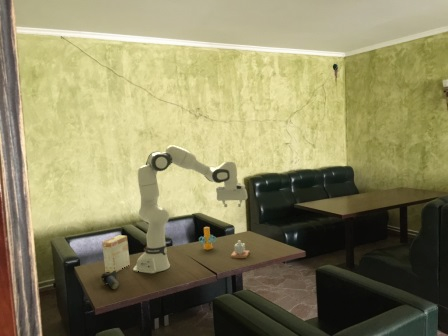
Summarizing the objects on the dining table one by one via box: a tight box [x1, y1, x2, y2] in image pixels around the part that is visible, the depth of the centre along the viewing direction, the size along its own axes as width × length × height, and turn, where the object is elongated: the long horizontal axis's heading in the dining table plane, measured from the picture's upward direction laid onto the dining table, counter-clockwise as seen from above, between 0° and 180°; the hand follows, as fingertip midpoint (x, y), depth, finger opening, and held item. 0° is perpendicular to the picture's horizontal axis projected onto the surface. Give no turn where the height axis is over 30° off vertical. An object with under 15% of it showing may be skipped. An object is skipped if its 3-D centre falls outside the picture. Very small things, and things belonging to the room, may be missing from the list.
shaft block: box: [230, 240, 250, 259], centre depth 239 cm, size 10×10×10 cm
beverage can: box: [100, 271, 120, 290], centre depth 205 cm, size 9×8×12 cm
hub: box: [233, 242, 246, 253], centre depth 239 cm, size 6×6×5 cm
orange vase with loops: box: [198, 226, 217, 251], centre depth 258 cm, size 12×10×15 cm
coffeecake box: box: [101, 234, 131, 273], centre depth 230 cm, size 15×7×20 cm, turn 152°
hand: (232, 206), depth 242 cm, fingers open, 8 cm apart
